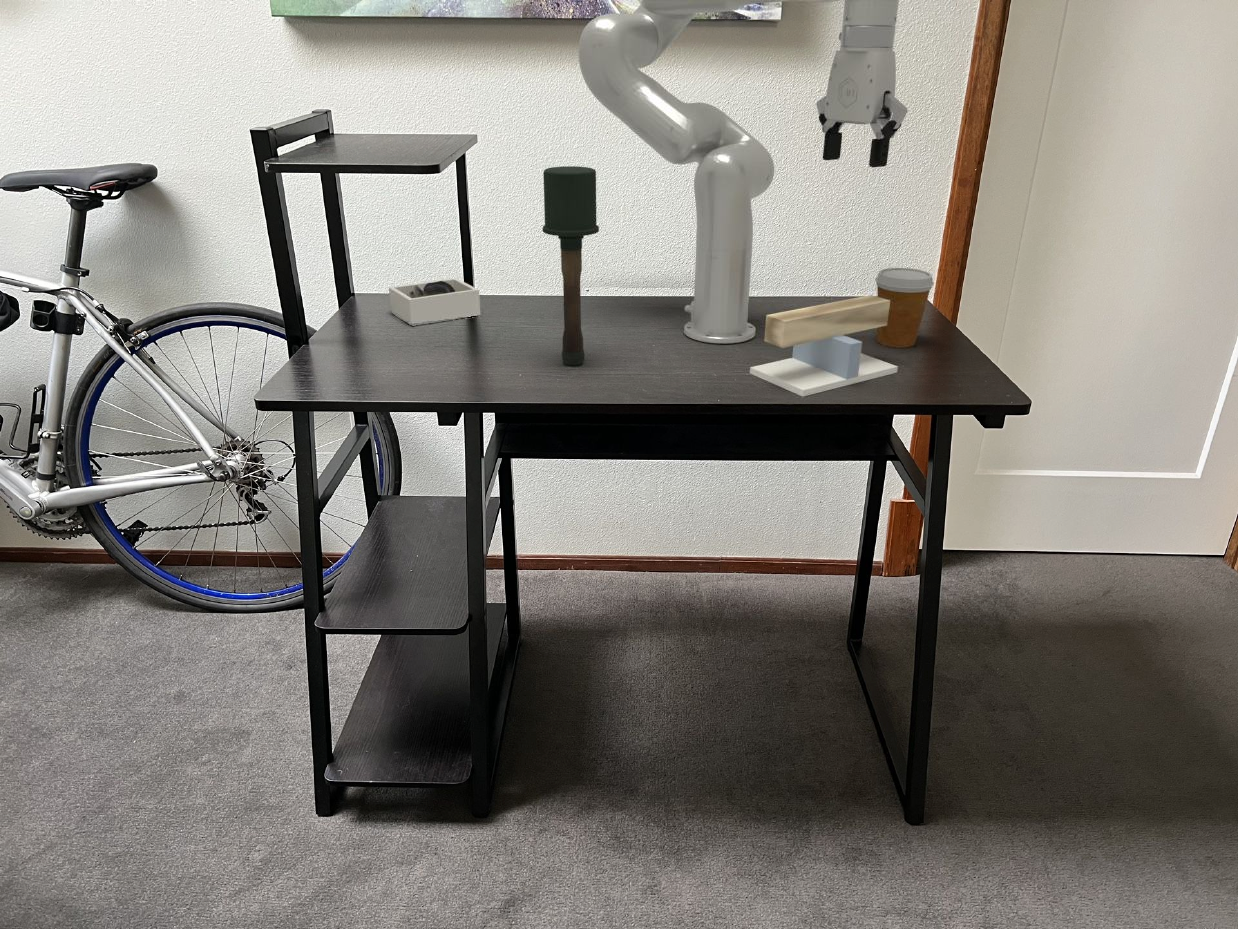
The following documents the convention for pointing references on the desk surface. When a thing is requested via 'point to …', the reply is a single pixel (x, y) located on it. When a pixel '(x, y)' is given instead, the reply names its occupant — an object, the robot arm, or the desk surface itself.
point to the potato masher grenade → (570, 241)
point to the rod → (826, 321)
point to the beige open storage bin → (435, 302)
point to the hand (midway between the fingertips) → (853, 163)
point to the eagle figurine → (433, 289)
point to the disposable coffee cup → (902, 304)
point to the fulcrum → (823, 366)
